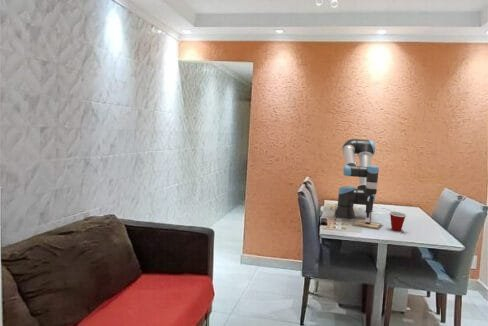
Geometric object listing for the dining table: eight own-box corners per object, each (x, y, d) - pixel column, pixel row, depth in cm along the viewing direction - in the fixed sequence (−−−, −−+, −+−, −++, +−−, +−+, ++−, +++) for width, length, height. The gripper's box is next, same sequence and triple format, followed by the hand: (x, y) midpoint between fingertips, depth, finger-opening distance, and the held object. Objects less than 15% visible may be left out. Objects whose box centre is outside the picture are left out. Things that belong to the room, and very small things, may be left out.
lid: (359, 221, 302) (360, 207, 301) (381, 224, 295) (382, 210, 294) (354, 225, 289) (355, 210, 288) (376, 228, 282) (378, 214, 281)
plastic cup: (393, 233, 277) (395, 215, 275) (384, 228, 287) (386, 211, 286) (408, 233, 279) (410, 215, 278) (399, 228, 289) (401, 211, 288)
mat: (357, 221, 304) (357, 220, 304) (383, 225, 296) (383, 225, 296) (351, 226, 288) (351, 225, 288) (378, 230, 280) (378, 230, 280)
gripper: (368, 186, 298) (365, 218, 301) (362, 188, 284) (359, 222, 286) (379, 187, 295) (376, 220, 297) (374, 190, 281) (371, 224, 283)
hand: (368, 221), depth 292 cm, fingers closed on lid, 3 cm apart
